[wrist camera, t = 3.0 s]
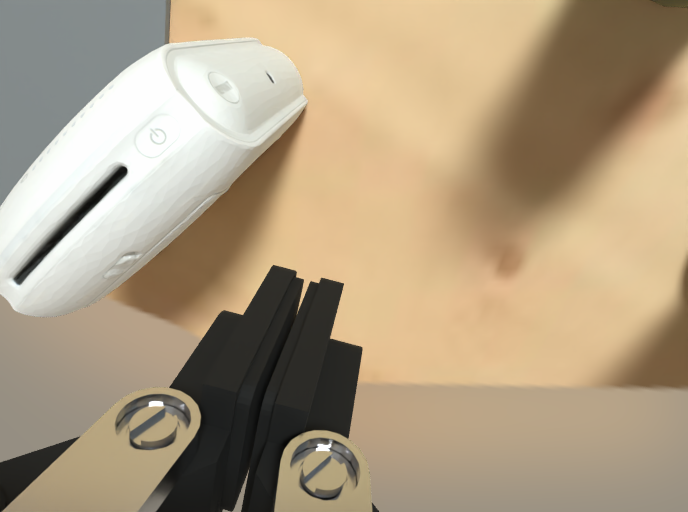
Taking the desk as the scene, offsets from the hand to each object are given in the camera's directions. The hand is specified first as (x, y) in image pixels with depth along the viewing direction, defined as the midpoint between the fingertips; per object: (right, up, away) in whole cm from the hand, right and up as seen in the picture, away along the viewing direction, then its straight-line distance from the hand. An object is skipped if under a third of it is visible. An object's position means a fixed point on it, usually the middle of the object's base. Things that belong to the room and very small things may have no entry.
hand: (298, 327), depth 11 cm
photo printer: (-5, +8, +13) cm, 16 cm away
